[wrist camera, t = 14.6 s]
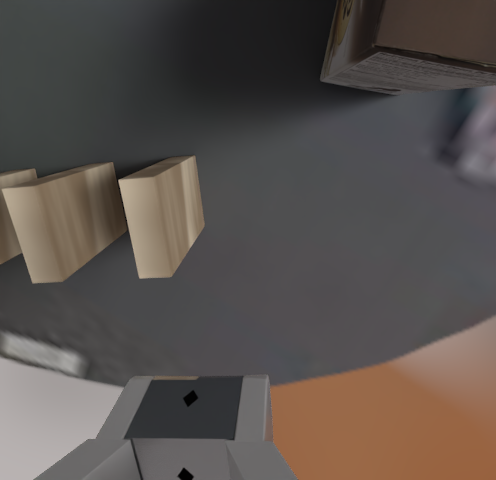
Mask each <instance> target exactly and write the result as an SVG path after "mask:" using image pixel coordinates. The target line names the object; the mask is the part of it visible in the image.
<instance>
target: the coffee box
mask: <svg viewBox="0 0 496 480" xmlns="http://www.w3.org/2000/svg"><path fill="white" fill-rule="evenodd" d="M320 81H322V82H326V83H332V84H337V85H342V86H348V87H353V88H359V89H364V90H370V91H375V92H381V93H387V94H392V95H402V94H408V93H419V92H429V91H436V90H448V89H459V88H470V87H481V86H493V85H496V0H337V4H336V8H335V13H334V17H333V22H332V26H331V31H330V35H329V40H328V44H327V49H326V53H325V58H324V62H323V67H322V71H321V76H320Z"/></svg>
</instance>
